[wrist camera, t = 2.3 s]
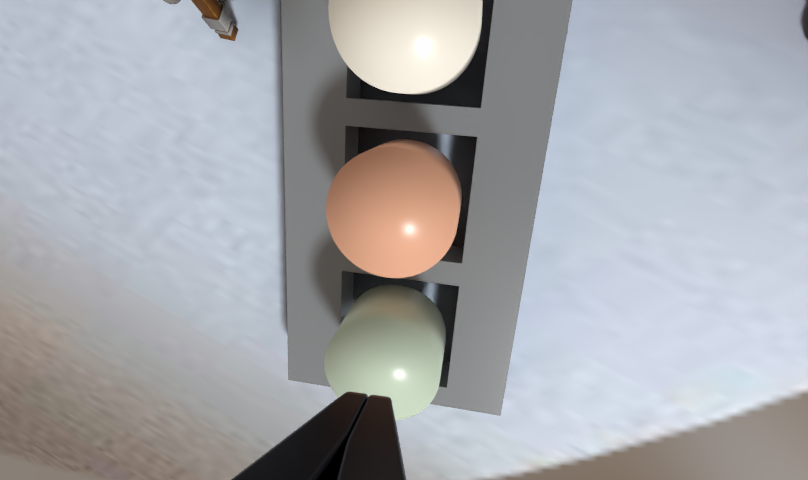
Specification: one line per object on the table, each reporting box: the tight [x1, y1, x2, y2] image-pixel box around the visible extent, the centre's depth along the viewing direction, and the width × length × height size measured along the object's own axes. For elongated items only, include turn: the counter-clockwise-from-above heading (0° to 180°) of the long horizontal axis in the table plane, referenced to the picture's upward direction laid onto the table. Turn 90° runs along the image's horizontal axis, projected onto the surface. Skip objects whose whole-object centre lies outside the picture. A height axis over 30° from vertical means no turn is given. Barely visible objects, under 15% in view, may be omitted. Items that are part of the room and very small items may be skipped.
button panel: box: [281, 0, 572, 415], centre depth 18 cm, size 10×19×2 cm, turn 176°
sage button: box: [324, 284, 446, 420], centre depth 17 cm, size 4×4×3 cm
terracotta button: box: [326, 139, 462, 278], centre depth 15 cm, size 4×4×3 cm
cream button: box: [328, 0, 483, 94], centre depth 14 cm, size 4×4×3 cm
